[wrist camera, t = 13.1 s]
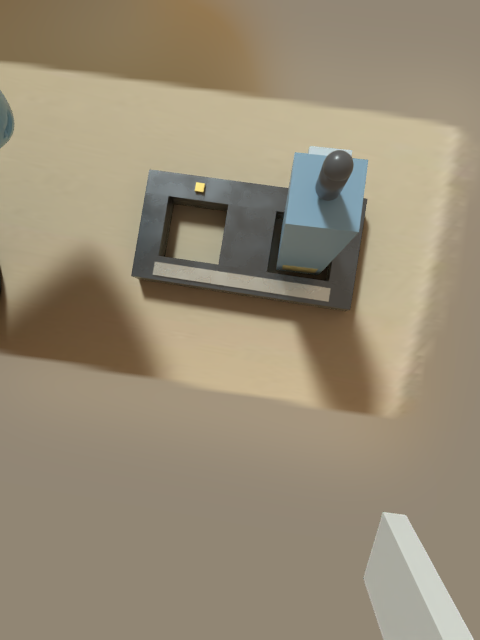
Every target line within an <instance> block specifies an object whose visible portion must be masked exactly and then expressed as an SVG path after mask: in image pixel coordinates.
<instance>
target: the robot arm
mask: <svg viewBox="0 0 480 640" xmlns="http://www.w3.org/2000/svg"><path fill="white" fill-rule="evenodd" d="M13 131H14V117H13V113H12V110H11V108H10V106H9V104H8V102H7V100H6V98H5V97H4V95H3V93H2V92H1V90H0V148H1V147H2V146H4V145H5V144H6V143H7V142H8V141H9V139H10V138H11V136H12V134H13ZM0 292H1V277H0ZM363 579H364V582H365V585H366V588H367V591H368V594H369V597H370V600H371V603H372V606H373V609H374V612H375V615H376V618H377V621H378V625H379V628H380V630H381V633H382V637H383V640H474V639H473V637H472V636H471V634H470V632H469V630H468V628H467V626H466V625H465V623H464V621H463V619H462V617H461V615H460V614H459V612H458V610H457V608H456V606H455V604H454V603H453V601H452V599H451V597H450V595H449V593H448V592H447V590H446V588H445V586H444V584H443V582H442V581H441V579H440V577H439V575H438V573H437V571H436V570H435V568H434V566H433V564H432V562H431V560H430V558H429V557H428V555H427V553H426V551H425V549H424V548H423V546H422V544H421V542H420V540H419V538H418V536H417V535H416V533H415V531H414V529H413V527H412V525H411V524H410V522H409V520H408V518H407V516H406V515H401V514H393V513H386V512H383V513H382V516H381V520H380V523H379V527H378V530H377V534H376V537H375V540H374V544H373V547H372V551H371V554H370V557H369V561H368V564H367V567H366V571H365V574H364V578H363Z"/></svg>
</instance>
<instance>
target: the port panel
mask: <svg viewBox="0 0 480 640" xmlns="http://www.w3.org/2000/svg"><path fill="white" fill-rule="evenodd" d="M288 189H289V188H283V187H275V186H268V185H261V184H253V183H246V182H238V181H231V180H223V179H216V178H209V177H201V176H194V175H186V174H179V173H171V172H164V171H157V170H149V175H148V181H147V187H146V192H145V198H144V204H143V210H142V216H141V222H140V228H139V234H138V240H137V245H136V251H135V257H134V263H133V269H132V275H131V276H133V277H135V278H137V279H142V280H148V281H155V282H161V283H167V284H174V285H180V286H187V287H193V288H200V289H206V290H212V291H219V292H225V293H232V294H238V295H245V296H251V297H257V298H264V299H270V300H277V301H283V302H290V303H296V304H302V305H309V306H315V307H322V308H328V309H335V310H341V311H348V310H350V308H351V301H352V295H353V288H354V282H355V275H356V269H357V263H358V256H359V250H360V243H361V237H362V230H363V224H364V217H365V211H366V204H367V199H365V198H363V204H362V212H361V220H360V228H359V233H358V234H357V235H356V236H355V237H354V238H353V239H352V240H351V241H350V242H349V243H348V244H347V245H346V246H345V247H344V249H343V250H342V251H341V252H340V253H339V254H338V255H337V256H336V257H335V258H334V259H333V260H332V261H331V262H330V263H329V264H328V271H327V277H326V281H322V280H316V279H309V278H302V277H296V276H289V275H283V274H276V273H269V272H267V269H268V263H269V256H270V250H271V244H272V238H273V232H274V225H275V219H276V218H280V219H283V218H284V212H285V207H286V201H287V195H288ZM174 204H180V205H188V206H195V207H202V208H209V209H216V210H223V211H227V216H226V222H225V228H224V234H223V241H222V247H221V253H220V259H219V265H216V264H210V263H203V262H196V261H190V260H183V259H176V258H170V257H165V253H166V247H167V241H168V235H169V229H170V223H171V217H172V211H173V205H174Z"/></svg>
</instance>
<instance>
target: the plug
mask: <svg viewBox="0 0 480 640" xmlns="http://www.w3.org/2000/svg"><path fill="white" fill-rule="evenodd" d="M351 156H352V150H344V149H334V148H324V147H314V146H310V147H309V151H308V154H305V153H296V152H295V155H294V160H293V166H292V172H291V178H290V184H289V189H288V195H287V201H286V207H285V212H284V218H283V224H282V230H281V237H280V245H279V252H278V260H277V267H276V270H280V271H288V272H296V273H304V274H312V275H319V274H320V273H321V272H322V271H323V270H324V269H325V268H326V267H327V266H328V264H329V263H330V262H331V261H332V260H333V259H334V258H335V257H336V256H337V255H338V254H339V253H340V252H341V251H342V250H343V249H344V247H345V246H346V245H347V244H348V243H349V242H350V241H351V240H352V239H353V238H354V237H355V236H356V235H357V234H358V233H359V228H360V220H361V212H362V204H363V197H364V189H365V181H366V173H367V165H368V160H364V159H354V158H352V157H351Z"/></svg>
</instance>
